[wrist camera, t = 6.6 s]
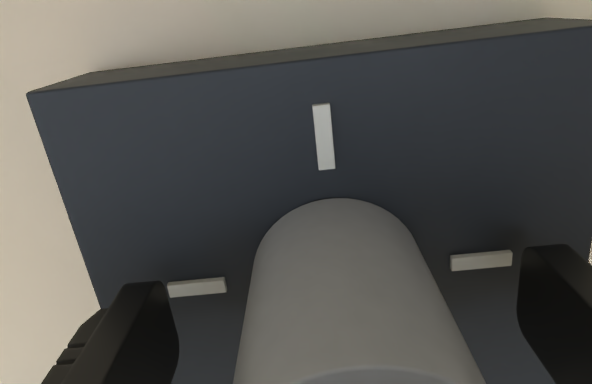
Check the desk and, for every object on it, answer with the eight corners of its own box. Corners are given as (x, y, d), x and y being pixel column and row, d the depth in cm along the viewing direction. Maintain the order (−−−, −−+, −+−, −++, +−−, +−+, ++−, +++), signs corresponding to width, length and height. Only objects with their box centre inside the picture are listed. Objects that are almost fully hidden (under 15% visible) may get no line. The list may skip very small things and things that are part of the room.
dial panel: (547, 17, 11) (636, 21, 8) (516, 330, 15) (569, 408, 12) (88, 72, 12) (18, 94, 9) (171, 360, 16) (142, 441, 13)
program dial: (236, 212, 10) (176, 412, 5) (414, 183, 10) (533, 365, 5) (271, 348, 11) (251, 602, 7) (425, 327, 11) (524, 576, 6)
